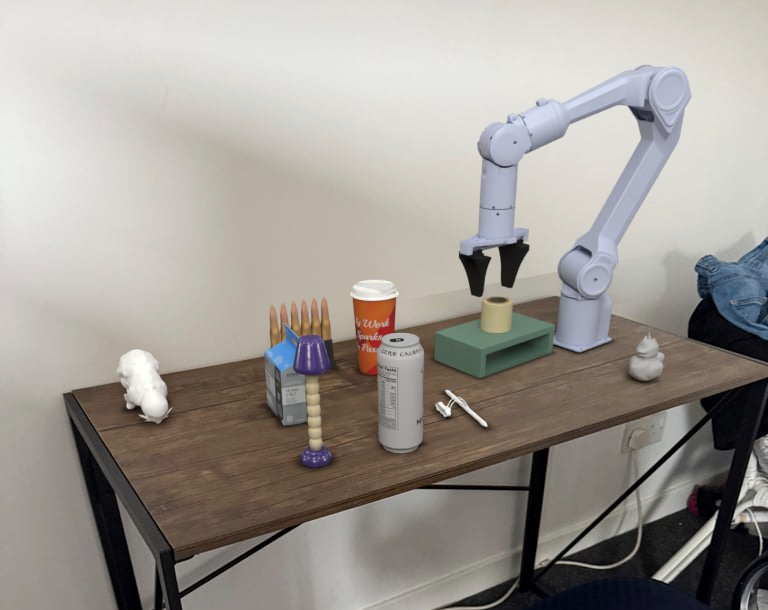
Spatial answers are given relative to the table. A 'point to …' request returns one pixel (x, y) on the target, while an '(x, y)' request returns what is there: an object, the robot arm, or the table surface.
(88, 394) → the table surface
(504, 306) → the tape roll
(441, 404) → the picture light
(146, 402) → the white animal figurine
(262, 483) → the table surface
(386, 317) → the paper cup
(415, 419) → the energy drink can
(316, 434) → the toy lamp
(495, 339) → the desk shelf
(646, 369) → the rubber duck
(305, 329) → the ammunition clip
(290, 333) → the label tape box
